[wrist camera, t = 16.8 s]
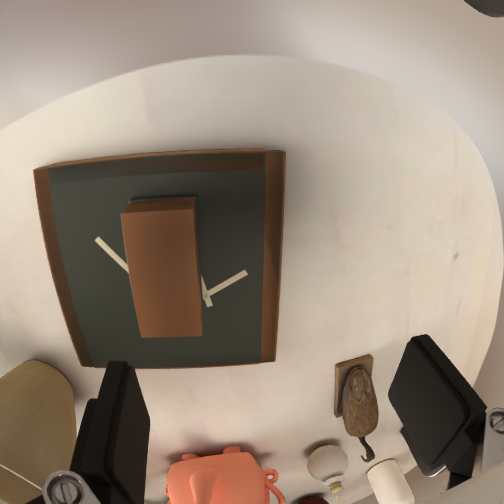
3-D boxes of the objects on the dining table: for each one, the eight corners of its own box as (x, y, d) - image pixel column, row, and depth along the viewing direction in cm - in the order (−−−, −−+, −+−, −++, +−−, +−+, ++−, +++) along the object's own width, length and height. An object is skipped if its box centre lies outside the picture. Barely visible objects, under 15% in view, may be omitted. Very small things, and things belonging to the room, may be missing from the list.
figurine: (362, 420, 40) (384, 465, 32) (333, 429, 39) (352, 477, 31) (370, 352, 34) (404, 405, 26) (334, 363, 34) (363, 421, 26)
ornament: (341, 433, 40) (363, 486, 31) (340, 454, 43) (359, 502, 34) (301, 444, 40) (319, 500, 31) (305, 465, 43) (320, 515, 34)
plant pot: (35, 312, 26) (-35, 431, 12) (126, 404, 32) (109, 524, 18) (-21, 356, 27) (-73, 445, 13) (55, 428, 33) (31, 520, 19)
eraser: (147, 310, 27) (140, 339, 23) (131, 197, 23) (118, 212, 19) (203, 308, 27) (204, 337, 24) (197, 193, 23) (195, 207, 20)
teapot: (191, 425, 35) (194, 514, 23) (293, 451, 40) (313, 522, 29) (148, 468, 39) (145, 538, 27) (238, 489, 44) (247, 550, 32)
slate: (38, 166, 21) (32, 168, 20) (283, 149, 24) (286, 150, 23) (84, 361, 29) (81, 367, 28) (273, 356, 32) (275, 362, 31)
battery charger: (410, 431, 44) (437, 478, 34) (397, 431, 43) (425, 481, 33) (436, 404, 42) (468, 451, 32) (424, 403, 41) (457, 454, 31)
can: (363, 478, 50) (382, 523, 39) (369, 465, 47) (390, 513, 36) (391, 468, 50) (411, 510, 39) (398, 454, 48) (421, 499, 37)
